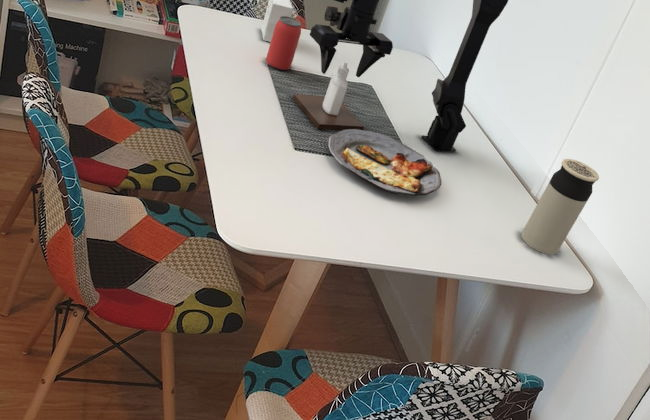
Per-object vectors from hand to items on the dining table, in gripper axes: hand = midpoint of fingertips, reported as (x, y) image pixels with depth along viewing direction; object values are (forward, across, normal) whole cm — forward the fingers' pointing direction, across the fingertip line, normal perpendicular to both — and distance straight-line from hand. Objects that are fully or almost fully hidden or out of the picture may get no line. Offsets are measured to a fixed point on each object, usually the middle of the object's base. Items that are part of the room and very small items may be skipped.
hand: (340, 74), depth 166 cm
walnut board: (+10, 0, 0) cm, 10 cm away
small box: (+10, -4, -43) cm, 44 cm away
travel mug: (+10, -25, +50) cm, 57 cm away
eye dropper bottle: (+9, 0, 0) cm, 9 cm away
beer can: (+10, +2, -25) cm, 27 cm away
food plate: (+10, -2, +23) cm, 25 cm away
